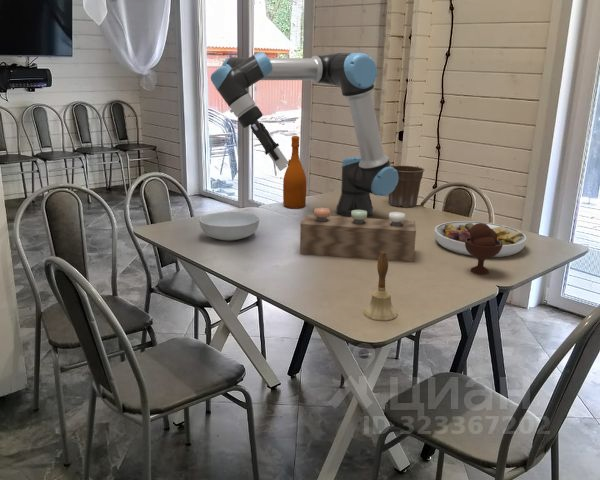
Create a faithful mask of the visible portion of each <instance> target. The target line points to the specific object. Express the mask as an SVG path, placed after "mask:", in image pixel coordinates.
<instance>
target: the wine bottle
mask: <svg viewBox="0 0 600 480" xmlns="http://www.w3.org/2000/svg"><path fill="white" fill-rule="evenodd" d="M290 146H291V148H292V149H291V156H290V159H288V160H287V161H288V162H289V163H288V164H287V167H286V168H285V172H284V176H283V181H282V182H283V185H282V193H283V194H282V195H283V196H282V198H283V199H282V200H283V206H284V207H285V208H288V209H289V208H290V209H302V208H304V207H305V206H306V202H307V176H306V173H305V170H304V167H303V165H302V163H301V159H300V156H299V155H300V154H299V152H300V151H299V150H300V149H299V148H300V136H298V135H293V136H291V145H290Z"/></svg>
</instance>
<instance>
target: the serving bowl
mask: <svg viewBox="0 0 600 480" xmlns="http://www.w3.org/2000/svg"><path fill="white" fill-rule="evenodd" d="M198 221H199V226H200V228H201V230H202V232H203V233H204V234H205V235H206V236H208V237H210V238H213V239H216V240H220V241H227V242H229V241H237V240H242V239H244V238H247V237H249V236H251V235H253V234H254V233H255V232H256V231H257V230H258V227H259V225H260V217H259V215H257V214H254V213H253V212H252V213H251V212H246V211H220V212H218V211H217V212H213V213H207V214H205V215H202V216H201V217H200V218H199V220H198Z"/></svg>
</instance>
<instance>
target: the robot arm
mask: <svg viewBox="0 0 600 480" xmlns="http://www.w3.org/2000/svg"><path fill="white" fill-rule="evenodd" d="M377 67H378V66H377V64H376V61H375V60H374V59H373V58H372V56H370V55H368V54H367V53H362V52H358V51H357V52H337V53H330V54H323V55H313V56H312V57H310V58H305V57H304V58H303V57H299V58H298V57H294V58H293V57H291V58H290V57H269V56H268V55H267V54H266V53H265V52H263V51H258V52H256V53H254V54H253V55H252V56H249V57H248V56H247V57H245V56H243V57H239V56H238V57H236V56H231V57H228V58H225V60H224V61H223V62H222V64H221V66H220V67H219V68H217V69H216V70H215V71H213V72H212V73H211V75H210V81H211V82H212V85H213V86H214V87H215V89H216V90H217V92H218V94H219V95H220V96H221V98H222V99H223V101H224V102H225V103H226V105H227V106H228V107H229V109H230V110H229V112H230V114H234V116H235V117H236V118H237V120H238V121H237V122H239V124H240V125H241V126H242V128H244V129H247V128H248V127H249V126H250V129H251V132H252V133H253V135H255V137H256V139H258V141H259V143H260V144H261V146H262V148H263V149H264V154H265V156H267V155H268V157H270V159H271V160H272V162H273V163H274V164H275V166H276V167H277V169H278V171H279V172H281V171H284V169H287V167H288V166H287V165H288V163H289V162H288V161H289V160H288V159H287V158H286V156H285V155H284V154H283V152H282V150H281V149H280V148H279V146H280V144H279V143H278V142H275V140H274V139H273V137H272V136H271V135H270V134H269V131H268V129H266V126H265V125H264V123H262V122H260V121H259V119H261V117H263V115H264V114H263V113H262V111H261V110H260V108H259V107H258V106H257V105H256V102H255V100H254V99H253V97H252V96H251V94H250V93H249V92H248V90H247V89H248V88H249V87H251V86H253V85H254V84H256V83H257V82H259V81H311V82H312V83H313V84H317V83H318V84H326V85H330V86H336V87H340V90H341V94H342V97H344V98H345V99H347V102H348V106H349V110H350V114H351V120H352V124H353V127H354V128H353V129H354V133H355V136H356V137H355V138H356V142H357V145H358V149H359V154H360V156H355V157H353V156H351V157H345V158H344V159H343V160H342V165H341V193H340V197H339V199H338V203H337V204H336V207H335V208H336V211H335V213H337V214H338V215H340V216H343V217H351V211H352V210H365V211H367V217H368V216H369V217H370V216H371V215H373V214H374V206H373V203H372V199H371V195H370V194H373V195H374V196H379V197H386V196H389V194H390V193H391V192H393V190H394V189H395V187H396V186H397V183H398V172H397V170H396V169H394V168H393V167H391V166H392V165H391V163H390V157H389V156H388V155H386V154H385V153H384V148H383V143H382V139H381V135H380V130H379V124H378V121H377V120H378V119H377V116H376V111H375V105H374V99H373V97H372V92H373V91H374V89H375V82H376V80H377V79H376V78H377V76H378V68H377Z"/></svg>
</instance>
